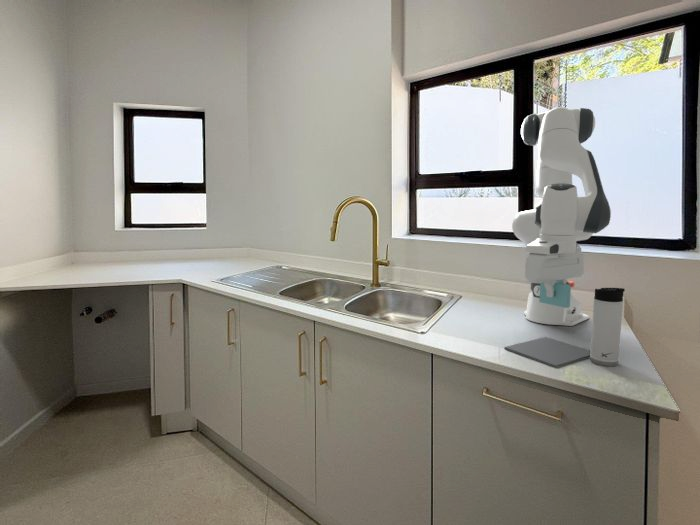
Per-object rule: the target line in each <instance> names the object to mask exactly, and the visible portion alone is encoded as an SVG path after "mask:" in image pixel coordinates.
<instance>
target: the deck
mask: <svg viewBox="0 0 700 525" xmlns="http://www.w3.org/2000/svg"><path fill="white" fill-rule="evenodd" d="M553 288H554V290H555V291H556V296H555V297H547V295H546V294H547V290H546V288H545V286H544V283H540V299H539V302H541V303H546V304H550V305H555V306H559V307H564V308H569V307H570V293H572V292H571V290H572V287H571V285H568V284H562V283H556V282H554V285H553Z"/></svg>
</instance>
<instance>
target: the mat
mask: <svg viewBox="0 0 700 525" xmlns="http://www.w3.org/2000/svg"><path fill="white" fill-rule="evenodd" d="M504 350H506V351H508V352H512V353H514V354H517V355H520V356H523V357H526V358H528V359H530V360H534V361H536V362H539V363H542V364H545V365H548V366H550V367H553V368H555V369H557V368H559V367H563V366H567V365H569V364H572V363H573V364H574V363H576V362H579V361H582V360H585V359H590V351H591V349H587V348H585V347H580V346H577V345H575V344H571V343H567V342H565V341H561V340H558V339H554V338H551V337H547V336H544V337H539V338H535V339H532V340H528V341H527V340H526V341H523V342H519V343H514V344H512V345H507V346H504Z"/></svg>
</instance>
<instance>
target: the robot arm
mask: <svg viewBox="0 0 700 525" xmlns="http://www.w3.org/2000/svg"><path fill="white" fill-rule="evenodd" d="M595 128H596V117H595V115H594V112H593V111H592V109H590V108H587V107H586V108H584V107H580V108H567V107H563V106H561V107H560V106H558V107H555V108H552V109H550V110H549V111H545V112H544V111H543V112H540V113H536V112H535V113H532V114H530V115H527V116H526V117H525V118H524V119H523V122H522V124H521V128H520V135H521V138H522V140H523V143H524V144H525V145H527V146H534V147H535V146H537V149H538V160H537V166H536V167H537V169H536V188H535V189H536V194H537V195H538V196H539V197H540V198H541V200H540V201H538V202H537V203H536V204H535V205H534V206H535V207H534V208H535V209H529V210H524V211H519V212H518V213H516V215H514V218H513V220H512V222H511V223H512V225H511V227H512V228H511V229H512V232H513V234H514V236H515V237H516V238H517V239H518V240H520V241H521V242H522V243H523V244H524V245H525V252H526V253H527V256H526V257H525V263H524V264H525V266H524V268H525V270H524V277H525V280H526V281H527V283H530V290H531V291H530V292H529V293H528V298H527V302H526V305H527V306H526V310H524V312H523V314H524V316H525V319H527V320H528V321H530V322H533V323H537V324H543V325H553V326H556V325H557V326H566V327H568V326H569V327H572V326H575V325H578V324H580V323H582V322H584V321H586V320H588V319H590V318H589V317H590V316H589V315H588V314H585V313H583V312H582V302H581V301H580V300H579V299H578V298H577V297H576V296H575V295H574V294H573V293H572V292H571V293H570V307H569V308H564V307H559V306H555V305H550V304H546V303H541V302H539V299H540V283H544V286H545V288H546V290H547V294H546V295H547V297H555V296H556V291H555V290H554V288H553V285H554V282H556V283H562V284H568V285H571V288H574V287H575V285H576V283H575V281H570V279H575V278H576V279H577V278H582V276H583V275H584V274H585V272H584V271H585V259H584V258H585V257H584V254H583V253H584V252H582V247H581V246H580V245H579V244H578V243H577V242H580V241H586V240H589V239H590V238H591V237H592V236H593V235H594V234H597V233H599V232H601V231H603V230H605V228H607V227H608V226H609V225H610V221H611V217H612V211H611V206H610V203H609V201H608V198H607V195H606V194H605V191H604V188H603V184H602V181H601V176H600V173H599V170H598V165H597V163H596V160H595V157H594V155H593V153H592V151H590V150H588V149H586V148H585V147H584V146H583V145H582V144H583V143H585V142H587V140H589V139H590V138H591V136H592V134H593V132H594V129H595ZM573 175H574V176H576V177H578V178H579V179H580V180H581V182H582V183H581V184H582V186H583V187H582V188H583V191H584V195H585V196H578V190H577V186H576V185H574V184H573Z"/></svg>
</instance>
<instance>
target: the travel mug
mask: <svg viewBox="0 0 700 525" xmlns="http://www.w3.org/2000/svg"><path fill="white" fill-rule="evenodd" d="M625 290H626V289H625V288H623V287H600V288H595V289H594V298H593V310H592V311H593V312H592V323H591V324H592V325H591V336H590V338H591V340H590V350H591V351H590V357H589V361H591V362H592V363H593V364H595V365H599V366H603V367H615V366H617V365H619V358H620V356H619V354H620V346H621V344H620V343H621V342H620V341H621V331H622V320H623V319H622V318H623V307H624V304H623V303H624V298H623V297H624V292H625Z"/></svg>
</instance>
